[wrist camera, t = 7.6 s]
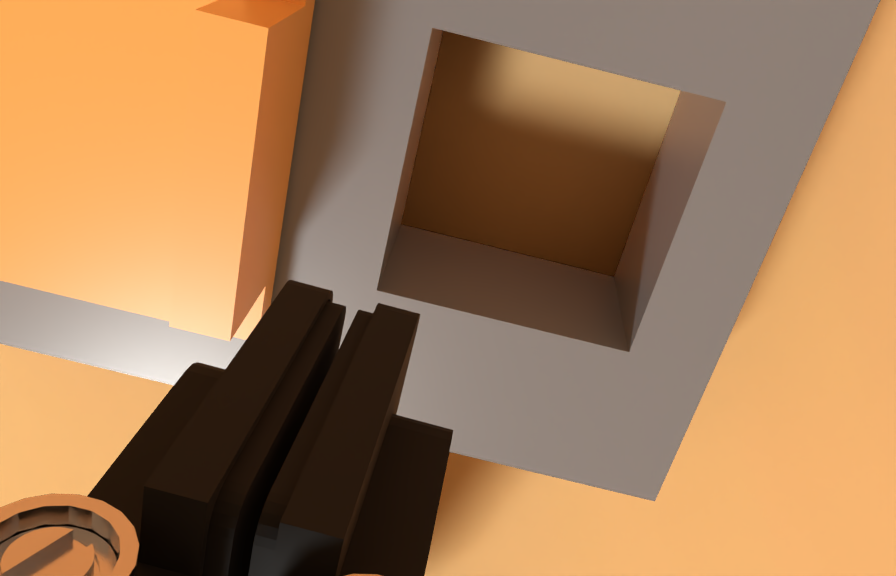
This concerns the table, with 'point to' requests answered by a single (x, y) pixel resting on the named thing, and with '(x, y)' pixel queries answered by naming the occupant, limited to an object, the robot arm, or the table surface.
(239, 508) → the robot arm
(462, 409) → the socket housing
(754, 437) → the table surface
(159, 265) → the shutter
